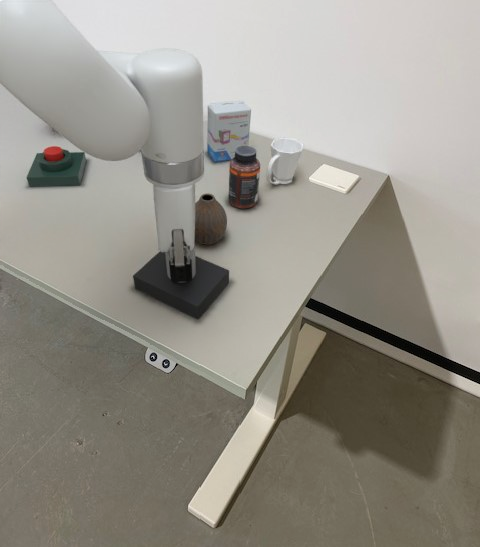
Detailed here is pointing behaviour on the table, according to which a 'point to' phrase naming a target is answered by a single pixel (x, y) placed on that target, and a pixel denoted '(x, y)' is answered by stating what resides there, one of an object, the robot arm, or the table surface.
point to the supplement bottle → (244, 177)
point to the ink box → (227, 129)
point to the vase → (209, 220)
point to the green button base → (57, 170)
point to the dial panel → (182, 285)
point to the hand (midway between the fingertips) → (181, 267)
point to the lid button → (53, 153)
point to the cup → (284, 160)
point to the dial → (191, 253)
